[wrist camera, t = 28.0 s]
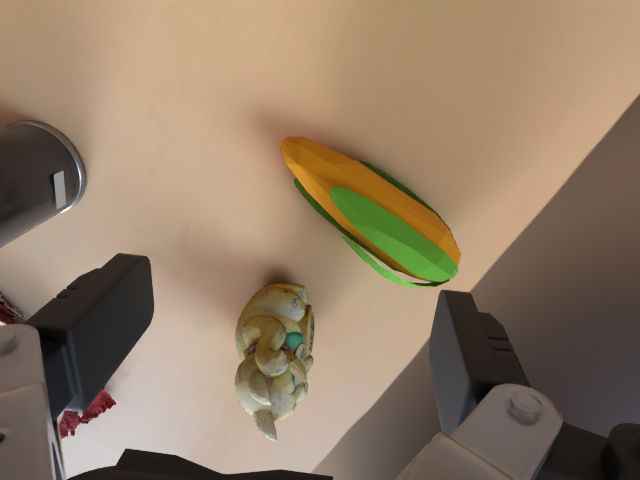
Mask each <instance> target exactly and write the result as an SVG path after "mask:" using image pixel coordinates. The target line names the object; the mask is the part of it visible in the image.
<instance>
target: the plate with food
mask: <svg viewBox="0 0 640 480" xmlns="http://www.w3.org/2000/svg"><path fill="white" fill-rule="evenodd" d="M18 308H19V310H20V307H18ZM16 309H17V308H15V309H14V308H13V307H11V306H10V305H9V303H8V304H7V303H6V301H5V300H4V297H2V296H1V293H0V326H2V325H8V324H14V323H13V322H12V320H11V318H12V319H15V317H14V316H13V314H11V313H10V312H12V313H15V314H17V315H19V316H20V317H21V318H23V319H24V320H26V318H24V316H25V315H24V314H23V315H22V316H21V315H20V314H21V313H20V312H19V313H20V314H19V313H18V312H17V311H16ZM9 311H10V312H9ZM20 311H21V310H20ZM113 405H116V402H115V401H114V400H113V399H112V398H111V396H110V394H108V393H107V392H106V391H105V390H104V387H103V388H102V390H101V391H100V392H99V394H98V395H97V396H96V398H95V399H94V400H93V402H92V403H91V404H90V406H89V407H88V408H87V410H86V411H85V412H84V413H82V414H83V416H82V417H81V418H80V416H78V412H74V411H66V410H63V411H62V413H61V414H60V415H59V416H58V418H57V420H58V425H59V430H60V438H61V439H62V438H63V437H65V436H68V430H70V432H71V436H74V435H75V431H74V429H75V428H76V427H77V425H78V424H80V423H83V424H84V423H86V424H88V422H89V421H91V420H92V419H93V418H97V417H98V415H99V414H100V413H101V412H103V413H104V412H105V411H106V409H107V408H109V409H110V408H111V407H112V406H113Z"/></svg>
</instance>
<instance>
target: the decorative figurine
mask: <svg viewBox="0 0 640 480" xmlns="http://www.w3.org/2000/svg"><path fill="white" fill-rule="evenodd" d="M313 336H314V316H313V311H312V307H311V305H308V296H307V293H306V288H305V287H304V286H302V285H297V284H290V283H275V284H270V285H268V286H265V287H263V288H262V289H260V290H259V291H257V292H256V293H255V295H254V296H253V297H252V298H251V300H250V301H249V302H248V304H247V305H246V307H245V308H244V310H243V311H242V313H241V315H240V318H239V320H238V323H237V327H236V333H235V340H236V348H237V351H238V353H239V356H240V358H241V360H242V362H241V364H240V365H239V367H238V370H237V373H236V376H235V388H236V394H237V397H238V400H239V402H240V403H241V405H242V406H243V408H244V409H245V410H246V411H247V412H248V413H250V414H251V415H253V416H254V420H255V422H256V425H257V427H258V429H259V430H260V431H261V432H262V433H263V434H264V435H265V436H266V437H268V438H269V439H270V440H273V441H277V436H276V429H275V426H274V422H273V421H276V420H280V419H284V418H286V417H288V416H290V415H291V414H292V413H293V412H294V410H295V407H296V406H297V405H298V404H299V403H300V402H301V401H302V400H303V399H304V397H305V396H306V394H307V389H308V383H307V382H306V381H307V372H308V371H309V369H310V368H311V366H312V364H313V357H312V356H311V355H310V354H311V352H312V345H313Z"/></svg>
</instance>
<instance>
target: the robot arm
mask: <svg viewBox="0 0 640 480" xmlns="http://www.w3.org/2000/svg"><path fill="white" fill-rule="evenodd" d="M85 187H86V171H85V167H84V163H83V161H82V158H81V156H80V154H79V153H78V151H77V149H76V148H75V146H74V145H73V144H72V143H71V142H70V141H69V139H68V138H66V137H65V136H64V135H63V134H62V133H60V132H59V131H58V130H56V129H54V128H53V127H51V126H48V125H46V124H43V123H40V122H35V121H22V122H17V123H13V124H10V125H7V126H5V127H2V128H0V248H1V247H2V246H4V245H6V244H7V243H9V242H11V241H13V240H14V239H16V238H18V237H19V236H21V235H23V234H25V233H26V232H28V231H30V230H31V229H33V228H35V227H37V226H38V225H40V224H42V223H43V222H45V221H47V220H49V219H50V218H52V217H54V216H56V215H57V214H60V213H62V212H64V211H66V210H68V209H70V208H71V207H73V206H74V205H75V204H77V203H78V201H79V200H80V199H81V197H82V196H83V194H84V191H85ZM153 313H154V298H153V287H152V276H151V265H150V261H149V259H148V257H147V256H141V255H132V254H123V253H118V254H117V255H115V256H114V257H113V258H112V259H111V260H110V261H108V262H107V263H106V264H105V265H104V266H103V267H102V268H100V269H99V268H97V269H94V270H92V271H90V272H88V273H86V274H83V275H81V276H79V277H78V278H77V279H76V280H74V281H73V282H72V283H71V284H70V285H68V286H67V289H64V290H63V291H61V292H60V293H59V294H58V295H57V297H56V298H53V299H52V300H51V301H49V302H48V303H47V304H46V305H45V306H44V307H42V308H41V309H40V310H39V311H38V312H36V313H35V314H34V315H33V316H32V317H31V318H29V319H28V320H27V321H26V322H25V323H23V324H8V325H2V326H0V480H66V473H65V466H64V459H63V452H62V445H61V438H60V430H59V425H58V420H57V418H58V416H59V415H60V414H61V413H62V411H63V410H66V411H74V412H82V413H84V412H85V411H86V410H87V408H88V407H89V406H90V404H91V403H92V402H93V400H94V399H95V398H96V396H97V395H98V394H99V392H100V391H101V390H102V388H103V387H104V386H105V384H106V383H107V382H108V380H109V379H110V378H111V376H112V375H113V374H114V372H115V371H116V370H117V368H118V367H119V366H120V364H121V363H122V362H123V360H124V359H125V358H126V356H127V355H128V354H129V352H130V351H131V350H132V348H133V347H134V346H135V344H136V343H137V342H138V340H139V339H140V338H141V336H142V335H143V334H144V332H145V331H146V329H147V328H148V327H149V325H150V323H151V320H152V317H153ZM429 363H430V367H431V373H432V379H433V385H434V390H435V395H436V401H437V406H438V412H439V417H440V423H441V428H442V432H440V433H438V434H437V435H436V436H435V437H434V438H433V439H432V440H431V441H430V442H429V443H428V444H427V445H426V446H425V447H424V448H423V450H422V451H421V452H420V453H419V454H418V455H417V456H416V457H415V458H414V459H413V460H412V461H411V463H410V464H409V465H408V466H407V467H406V468H405V469H404V470H403V471H402V472H401V473H400V475H399V476H398V477H397V478H396V479H395V480H640V425H639V424H632V423H623V424H619V425H616V426H615V427H614V428H612V430H611V432H610V434H609V436H608V438H606V437H603V436H600V435H597V434H594V433H592V432H589V431H586V430H583V429H580V428H577V427H575V426H572V425H570V424H568V423H566V422H563V421H562V416H561V413H560V411H559V410H558V408H557V407H556V406H555V404H554V403H553V402H552V401H550V400H549V399H548V398H547V397H546V396H544V395H543V394H541V393H539V392H538V391H536V390H534V389H531V387H530V384H529V382H528V380H527V378H526V376H525V373H524V371H523V369H522V367H521V365H520V362H519V360H518V358H517V356H516V354H515V353H514V349H513V347H512V345H511V343H510V342H509V338H508V336H507V334H506V332H505V329H504V327H503V325H501V324H500V323H499V322H498V321H497V320H496V319H495V318H494V317H493V316H492V315H491V314H489V313H482V312H478V310H477V307H476V305H475V302H474V300H473V297H472V295H471V293H469V292H460V291H451V290H441V292H440V294H439V297H438V302H437V307H436V312H435V316H434V321H433V326H432V331H431V336H430V342H429ZM67 480H333V477H332V476H325V475H317V474H310V473H303V472H295V471H288V470H271V471H260V472H249V473H239V474H221V473H218V472H216V471H213V470H211V469H208V468H206V467H203V466H201V465H198V464H196V463H193V462H191V461H189V460H186V459H184V458H181V457H179V456H176V455H170V454H163V453H155V452H148V451H141V450H133V449H125V451H124V452H123V454H122V456H121V457H120V459H119V461H118V463H117V464H116V466H109V467H104V468H99V469H95V470H91V471H88V472H84V473H81V474H79V475H76V476H74V477H71V478H69V479H67Z"/></svg>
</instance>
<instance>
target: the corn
mask: <svg viewBox="0 0 640 480" xmlns="http://www.w3.org/2000/svg"><path fill="white" fill-rule="evenodd" d="M280 150H281V153H282V155H283V157H284V160H285V162H286V164H287V165H288V166H289V168H290V169H291V170H292V172H293V173H294V174H295V176H296V177H297V178H296V179H294V183H295V185H296V187H297V188H298V189H299V191H300V192H301V193H302V195H303V196H304V197H305V198H306V199H307V200H308V202H309V203H310V204H311V205H312V206H313V207H314V208H315V209H316V211H318V212H319V213H320V214H321V215H322V216H323V217H325V218H326V219H327V220H328V221H329V222H330V223H332V224H333V225H334V226H335V227H336V228H337V229H339V230H340V231H341V232H342V233H343V234H344V235H346V236H347V237H349V238H350V239H351V240H353V241H354V242H356V243H357V244H358V245H360V246H361V247H362V248H364V249H365V250H367V251H368V252H369V253H371V254H372V255H373V256H375V257H376V258H378V259H379V260H380V261H382V262H383V263H385V264H386V265H387V266H389V267H390V268H391V269H393V270H396V271H399V272H402V273H405V274H407V275H409V276H412V277H414V278H417V279H421V280H426V281H430V282H432V283H427V284H425V283H409V282H406V281H404V280H402V279H401V278H399V277H397V276H396V275H394V274H392V273H391V272H389V271H388V270H386V269H384V268H383V267H381V266H380V265H378V264H377V263H376V262H375V261H374V260H373V259H372V258H370V257H369V256H368V255H367V254H366V253H365V252H364V251H363V250H361V249H360V248H359V247H358V246H357V245H356V244H355V243H354V242H352V241H351V240H349V239H347V238H345V237H342V238H343V239H344V240H345V241H346V242H347V243H348V244H349V245H350V246H351V248H352V249H353V250H354V251H355V252H356V253H357V254H358V255H359V256H360V257H361V258H362V259H363V260H364V261H366V262H367V263H368V264H369V265H370V266H372V267H373V268H374V269H375V270H376V271H378V272H379V273H380V274H381V275H382V276H383V277H385V278H387V279H389V280H391V281H393V282H395V283H398V284H402V285H406V286H410V287H436V286H439V285H441V284H443V283H445V282H448V281H449V280H450V278H453V277H454V276H455V275H456V274H457V272H458V264H459V260H460V256H461V253H460V251H459V249H458V247H457V244H456V242H455V240H454V238H453V235H452V233H451V231H450V229H449V227H448V226H447V225H446V224H445V222H444V221H443V220H442V219H441V217H440V216H439V215H438V214H437V213H436V212H435V211H434V210H433V209H431V208H430V207H429V206H428V205H427V204H426V203H424V202H423V201H422V200H421V199H420V198H418V197H417V196H416V195H415V194H414V193H413V192H411V191H410V190H409V189H408V188H406V187H405V186H403V185H402V184H401V183H399V182H398V181H396V180H395V179H393V178H392V177H390V176H389V175H387V174H386V173H384V172H383V171H381V170H379V169H377V168H376V167H374V166H372V165H370V164H368V163H365V162H362V161H360V162H358V161H356V160H354V159H351V158H349V157H347V156H345V155H343V154H340V153H338V152H336V151H334V150H331V149H329V148H327V147H325V146H323V145H320V144H318V143H316V142H314V141H312V140H309V139H307V138H305V137H288V138H285V139H282V142H281V147H280ZM435 281H437V282H435Z"/></svg>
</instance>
